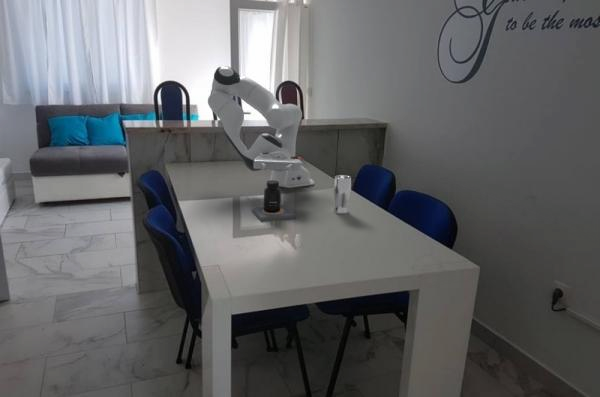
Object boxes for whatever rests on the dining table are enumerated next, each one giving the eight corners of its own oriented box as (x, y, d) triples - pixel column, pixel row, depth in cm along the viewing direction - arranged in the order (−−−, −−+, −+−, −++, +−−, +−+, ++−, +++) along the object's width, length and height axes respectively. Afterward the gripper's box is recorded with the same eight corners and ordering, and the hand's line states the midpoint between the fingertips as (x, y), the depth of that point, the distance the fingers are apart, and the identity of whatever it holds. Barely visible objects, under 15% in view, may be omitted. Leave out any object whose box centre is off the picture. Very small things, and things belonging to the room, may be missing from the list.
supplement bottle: (271, 214, 184) (271, 184, 181) (260, 210, 189) (260, 181, 185) (284, 211, 189) (284, 182, 185) (272, 207, 193) (273, 178, 190)
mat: (284, 208, 197) (284, 204, 197) (295, 218, 186) (295, 214, 185) (252, 211, 192) (252, 207, 192) (260, 221, 181) (260, 217, 180)
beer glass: (351, 211, 197) (353, 176, 192) (346, 215, 190) (348, 179, 186) (336, 208, 199) (337, 174, 195) (330, 213, 193) (331, 177, 189)
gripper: (302, 169, 207) (301, 176, 193) (256, 167, 208) (251, 174, 194) (302, 155, 205) (301, 161, 192) (256, 153, 206) (251, 159, 193)
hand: (275, 168), depth 193 cm, fingers open, 8 cm apart
